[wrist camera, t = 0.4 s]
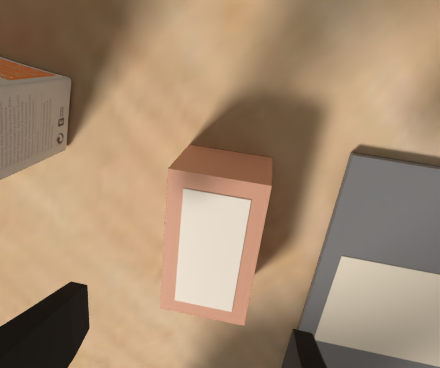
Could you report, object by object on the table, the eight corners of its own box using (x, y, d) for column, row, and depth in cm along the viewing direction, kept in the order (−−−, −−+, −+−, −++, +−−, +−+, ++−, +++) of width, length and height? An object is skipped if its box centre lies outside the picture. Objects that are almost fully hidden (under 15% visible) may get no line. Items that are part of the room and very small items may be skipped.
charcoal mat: (452, 427, 22) (456, 435, 22) (280, 387, 23) (280, 394, 23) (611, 194, 15) (623, 199, 15) (351, 152, 16) (353, 155, 16)
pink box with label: (249, 276, 20) (243, 326, 17) (180, 262, 21) (160, 308, 17) (272, 156, 17) (271, 186, 13) (190, 143, 18) (167, 168, 14)
